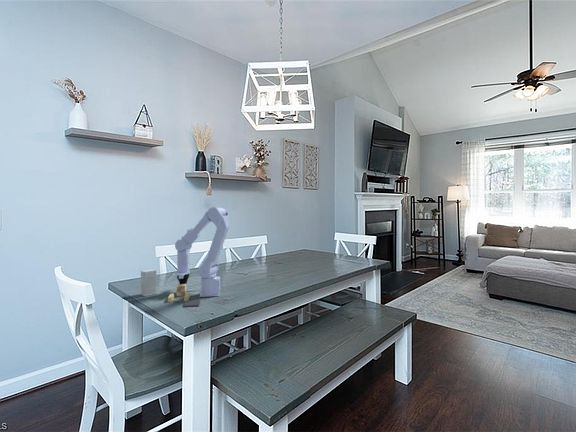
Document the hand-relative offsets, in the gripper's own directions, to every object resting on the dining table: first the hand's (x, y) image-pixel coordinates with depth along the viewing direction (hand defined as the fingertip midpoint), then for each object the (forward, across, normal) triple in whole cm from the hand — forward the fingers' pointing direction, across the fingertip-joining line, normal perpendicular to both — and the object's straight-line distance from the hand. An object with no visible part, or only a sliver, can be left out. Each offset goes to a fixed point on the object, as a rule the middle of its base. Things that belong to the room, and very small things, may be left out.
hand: (183, 289), depth 150 cm
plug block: (+2, +5, 0) cm, 5 cm away
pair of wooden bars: (+1, +12, 0) cm, 12 cm away
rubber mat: (+1, +20, +7) cm, 21 cm away
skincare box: (+2, +2, -16) cm, 16 cm away
